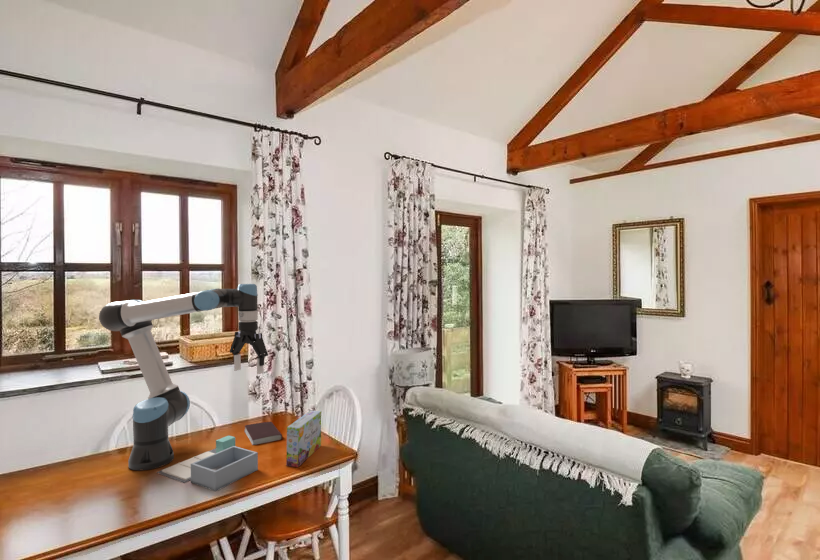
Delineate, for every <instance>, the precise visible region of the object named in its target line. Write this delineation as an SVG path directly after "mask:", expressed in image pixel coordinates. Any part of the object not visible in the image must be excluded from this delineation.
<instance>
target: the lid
mask: <svg viewBox="0 0 820 560" xmlns="http://www.w3.org/2000/svg"><path fill="white" fill-rule="evenodd" d="M232 446H236V437H235V436H232V435H226V436H223V437H221V438H219V439H215V448H216V453H218V452H220V451H223V450H225V449H227V448H230V447H232ZM209 451H210V450H207V451H205V452H203V453H200V454H198V455H196V456H193V457H191V458H188V459H185V460H183V461H181V462H180V461H179V462H178V463H175V464H173V465H171V466H168V467H166V468H164V469H161V470H162V472H164V473H167V474H169V475H172V476H175V477H178V478H180V479H183V480H188V479H190V478H191V464H192V463H194V462H196V461H199V460H201V459H204V458H206V457H208V456H211V455H213V454H215V453H212V452H209Z"/></svg>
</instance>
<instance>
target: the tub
mask: <svg viewBox="0 0 820 560" xmlns="http://www.w3.org/2000/svg"><path fill="white" fill-rule="evenodd" d="M258 454H259V453H258V452H257V451H254V450H250V449H246V448H242V447H239V446H236V445H235V446H232V447H230V448H227V449H225V450H223V451H220V452H218V453H215V454H213V455H211V456H208V457H206V458H204V459H201V460H199V461H196V462H194V463H192V464H191V480H190V483H192V484H194V485H197V486H200V487H202V488H205V489H209V490H211V491H213V492H217V491H219V490H221V489H223V488H225V487H227V486H229V485H231V484H232V483H235V482H237V481H238V480H240V479H242V478H245V477H247V476H249V475H251V474H252V473H254V472H256V471H258V470H259V457H258V456H259V455H258ZM217 466H221V467H222V468H220V469H218V470H216V471H215V470H212V469H213V468H215V467H217Z"/></svg>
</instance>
